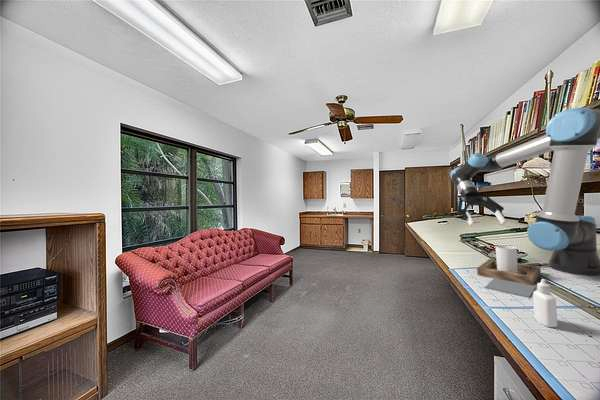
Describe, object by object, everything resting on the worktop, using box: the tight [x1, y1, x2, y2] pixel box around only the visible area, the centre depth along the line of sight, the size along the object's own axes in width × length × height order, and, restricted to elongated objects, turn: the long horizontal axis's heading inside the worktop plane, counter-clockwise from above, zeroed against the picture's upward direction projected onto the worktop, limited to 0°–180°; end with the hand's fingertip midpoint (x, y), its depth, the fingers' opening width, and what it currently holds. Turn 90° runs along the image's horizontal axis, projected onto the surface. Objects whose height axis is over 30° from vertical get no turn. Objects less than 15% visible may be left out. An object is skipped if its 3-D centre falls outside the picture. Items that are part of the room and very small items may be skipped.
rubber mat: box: [484, 278, 537, 299], centre depth 86 cm, size 12×12×1 cm
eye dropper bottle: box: [532, 278, 558, 328], centre depth 64 cm, size 4×6×12 cm
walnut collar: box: [476, 258, 542, 286], centre depth 98 cm, size 17×17×3 cm
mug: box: [495, 244, 519, 274], centre depth 98 cm, size 10×7×12 cm, turn 125°
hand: (487, 223), depth 109 cm, fingers open, 13 cm apart
